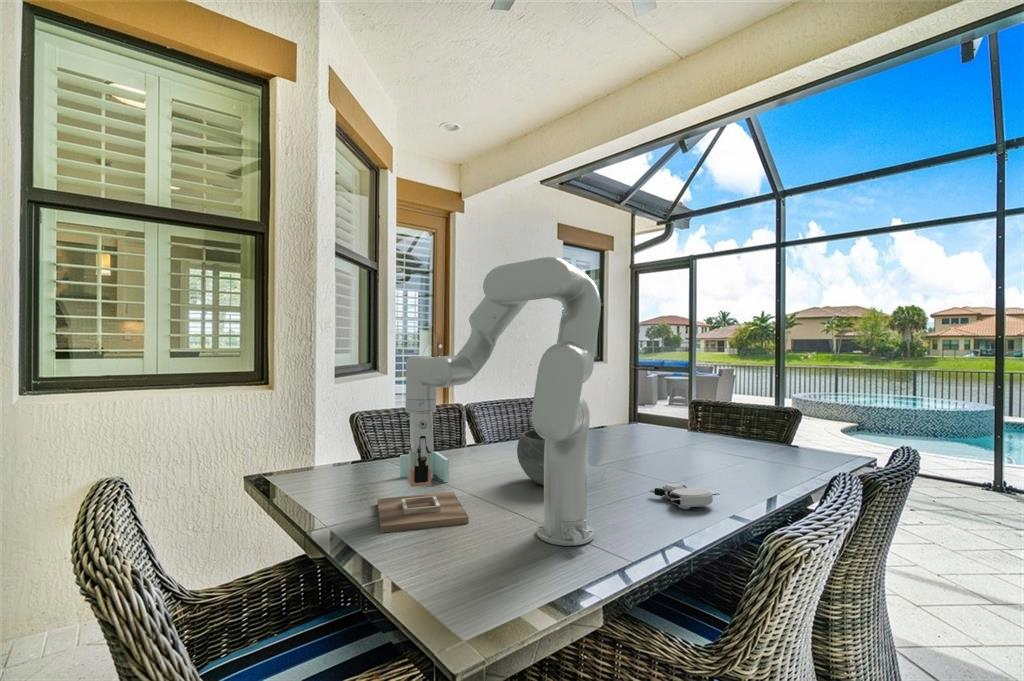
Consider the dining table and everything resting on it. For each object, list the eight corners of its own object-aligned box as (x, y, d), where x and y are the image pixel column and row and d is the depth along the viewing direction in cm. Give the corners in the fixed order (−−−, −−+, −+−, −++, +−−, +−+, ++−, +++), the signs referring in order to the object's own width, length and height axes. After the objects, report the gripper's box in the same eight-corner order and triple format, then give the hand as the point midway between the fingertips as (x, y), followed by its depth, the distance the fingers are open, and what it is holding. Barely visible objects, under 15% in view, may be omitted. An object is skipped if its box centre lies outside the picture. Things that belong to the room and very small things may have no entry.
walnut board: (468, 523, 113) (468, 511, 113) (380, 532, 107) (380, 520, 107) (453, 497, 132) (453, 487, 132) (377, 504, 126) (377, 494, 126)
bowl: (585, 496, 134) (585, 442, 134) (510, 491, 138) (510, 438, 138) (588, 476, 154) (588, 429, 154) (523, 472, 158) (523, 426, 159)
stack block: (431, 485, 118) (431, 452, 118) (410, 486, 117) (410, 453, 117) (428, 479, 123) (428, 448, 123) (408, 481, 121) (409, 449, 122)
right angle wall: (399, 479, 152) (400, 455, 152) (436, 474, 158) (436, 451, 158) (409, 489, 142) (409, 463, 142) (448, 484, 147) (448, 459, 147)
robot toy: (646, 501, 133) (683, 514, 119) (646, 484, 133) (682, 496, 119) (683, 496, 137) (722, 509, 123) (682, 480, 137) (721, 491, 123)
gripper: (441, 409, 113) (440, 487, 113) (431, 401, 129) (430, 469, 129) (408, 410, 111) (407, 490, 111) (402, 401, 127) (401, 471, 127)
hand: (419, 478), depth 120 cm, fingers closed on stack block, 5 cm apart
